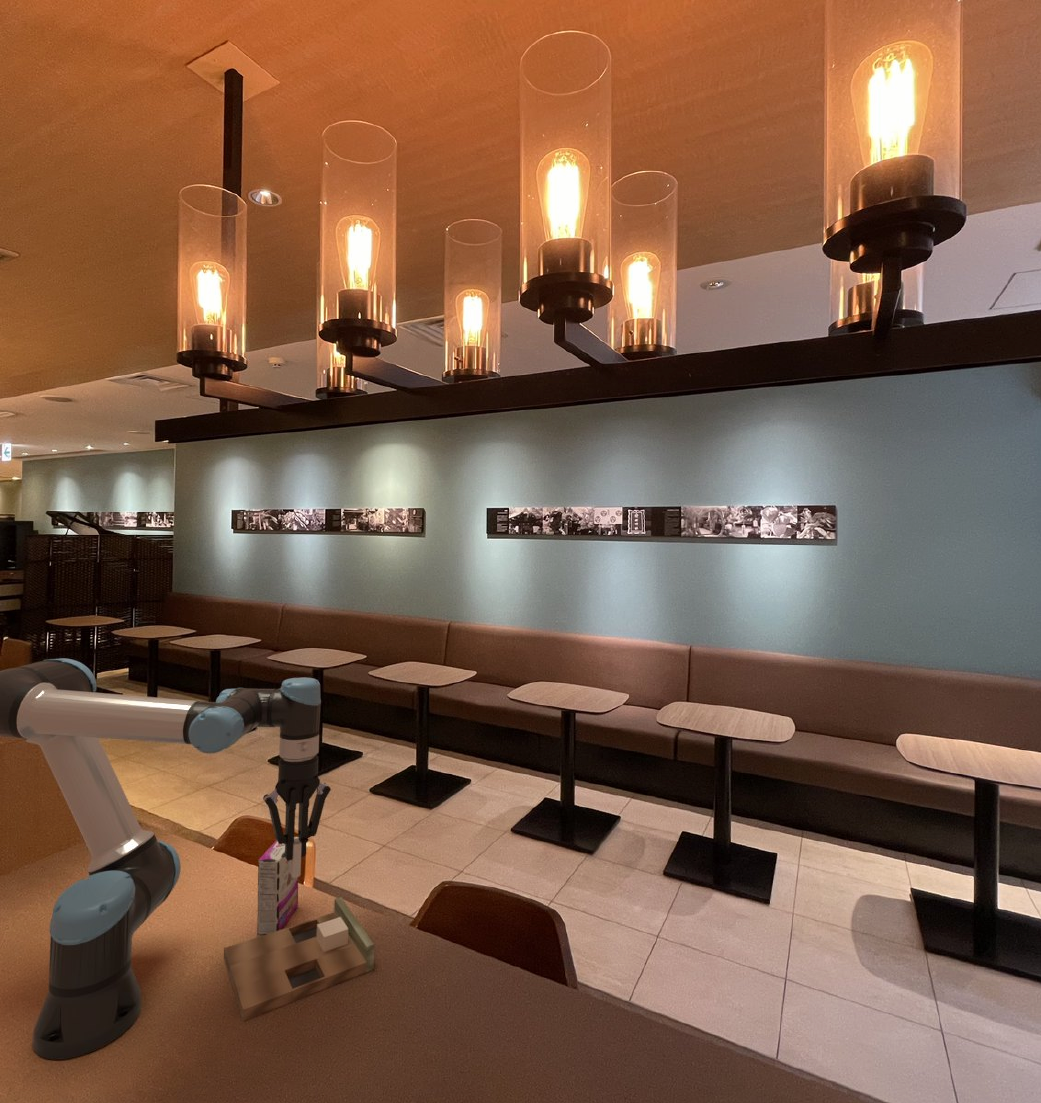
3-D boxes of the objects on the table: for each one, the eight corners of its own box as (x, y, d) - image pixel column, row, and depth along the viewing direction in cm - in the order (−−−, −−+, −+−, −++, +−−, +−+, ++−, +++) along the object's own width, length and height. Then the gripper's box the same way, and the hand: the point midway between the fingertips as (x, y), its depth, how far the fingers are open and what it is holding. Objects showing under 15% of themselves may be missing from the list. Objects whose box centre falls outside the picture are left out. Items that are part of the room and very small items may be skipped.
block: (323, 952, 119) (324, 937, 119) (316, 939, 123) (316, 924, 123) (347, 943, 122) (348, 929, 122) (340, 931, 126) (340, 916, 126)
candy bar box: (277, 906, 138) (279, 835, 139) (298, 906, 138) (300, 836, 139) (254, 936, 127) (257, 859, 127) (277, 936, 127) (280, 860, 127)
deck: (242, 1021, 103) (243, 992, 104) (223, 958, 120) (224, 933, 120) (373, 969, 117) (374, 944, 117) (340, 919, 134) (341, 897, 134)
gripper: (269, 767, 112) (264, 892, 112) (337, 756, 120) (333, 873, 119) (260, 756, 118) (256, 875, 118) (325, 746, 126) (321, 857, 125)
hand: (294, 874), depth 118 cm, fingers closed
